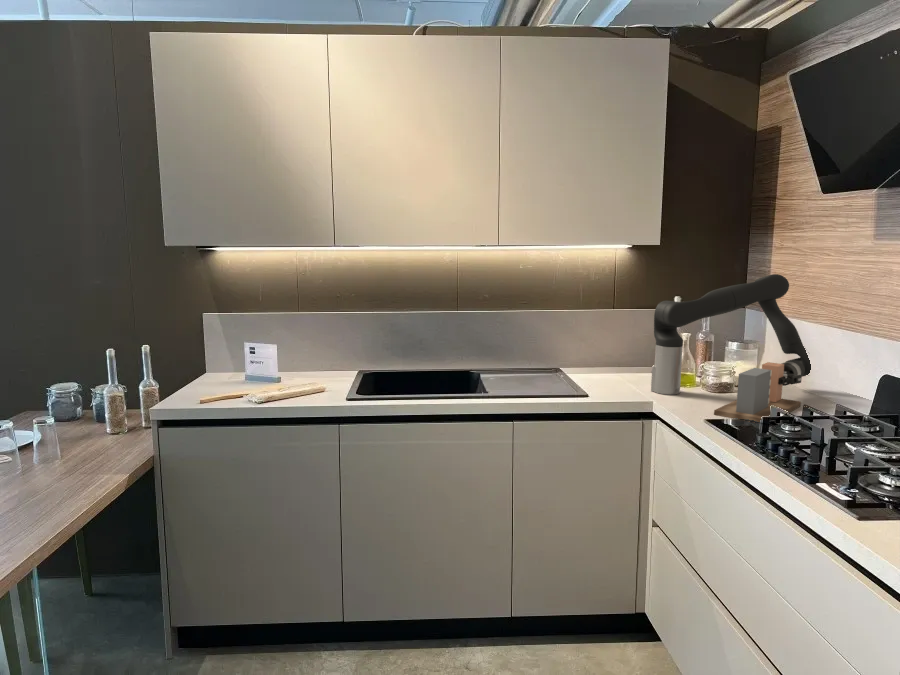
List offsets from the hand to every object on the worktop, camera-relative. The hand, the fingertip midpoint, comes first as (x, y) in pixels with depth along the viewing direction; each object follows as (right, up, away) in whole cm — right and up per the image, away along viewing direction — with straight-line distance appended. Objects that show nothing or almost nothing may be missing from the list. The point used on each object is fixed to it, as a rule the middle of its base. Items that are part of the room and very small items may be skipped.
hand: (770, 380), depth 205 cm
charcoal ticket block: (-11, -8, -10) cm, 17 cm away
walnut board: (-7, -9, -6) cm, 13 cm away
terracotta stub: (+1, -7, +2) cm, 7 cm away
